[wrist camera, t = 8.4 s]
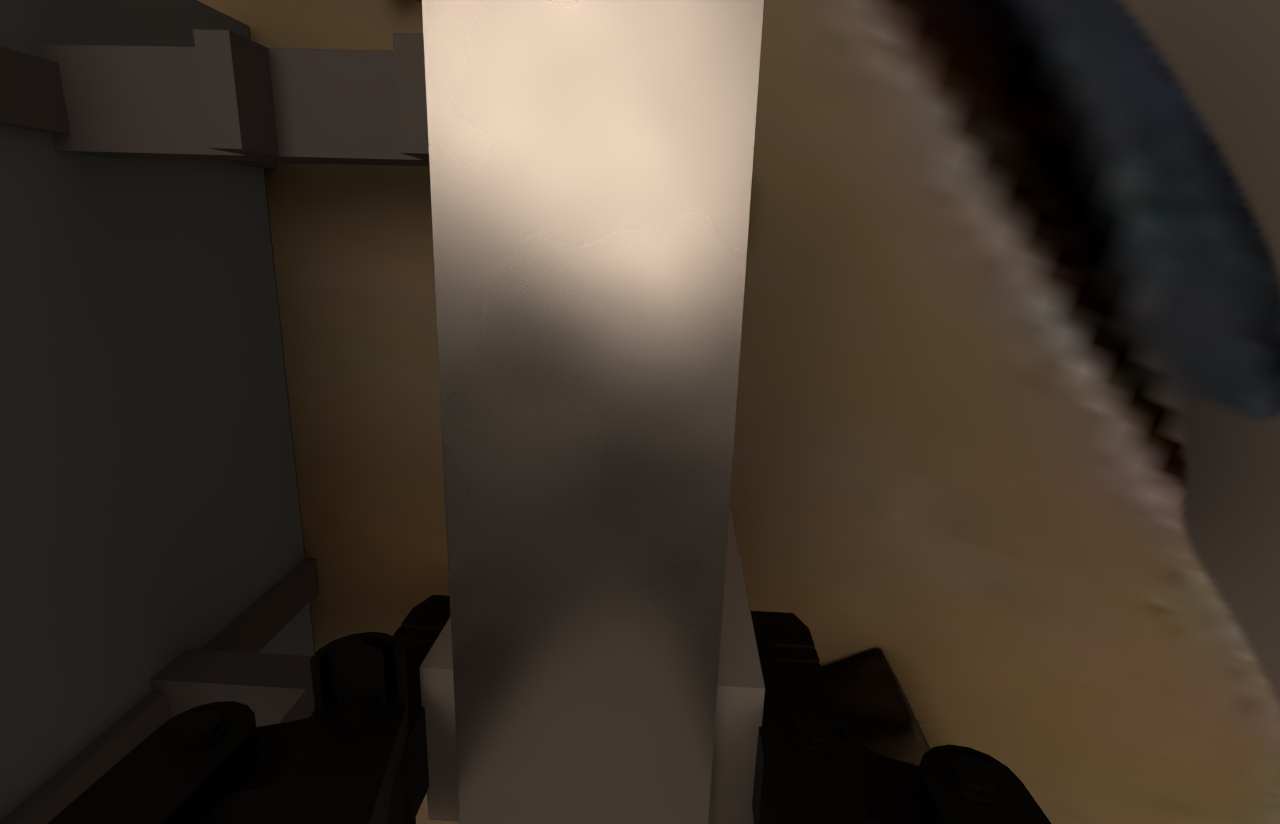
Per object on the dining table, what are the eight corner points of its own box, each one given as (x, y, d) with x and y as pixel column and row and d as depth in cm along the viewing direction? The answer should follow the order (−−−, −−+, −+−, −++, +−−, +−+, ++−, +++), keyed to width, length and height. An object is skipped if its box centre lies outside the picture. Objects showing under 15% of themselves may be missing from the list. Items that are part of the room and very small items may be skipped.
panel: (294, 654, 38) (-101, 1084, 19) (222, 25, 30) (-605, -360, 11) (536, 668, 37) (387, 1129, 18) (530, 30, 29) (247, -368, 10)
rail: (530, 1095, 17) (485, 1357, 13) (510, -149, 10) (403, -394, 6) (672, 1108, 16) (671, 1377, 13) (746, -148, 10) (790, -398, 6)
